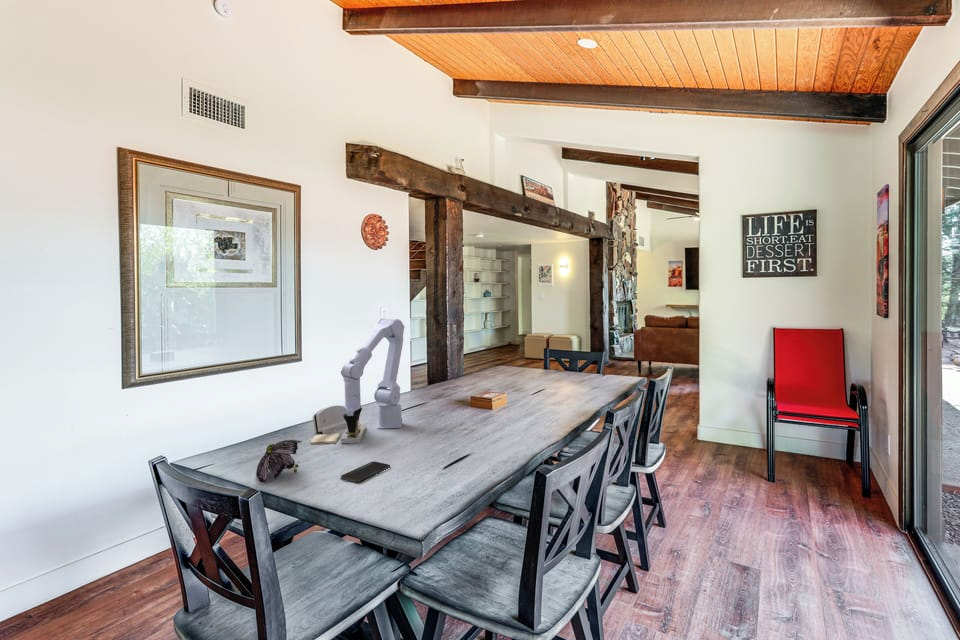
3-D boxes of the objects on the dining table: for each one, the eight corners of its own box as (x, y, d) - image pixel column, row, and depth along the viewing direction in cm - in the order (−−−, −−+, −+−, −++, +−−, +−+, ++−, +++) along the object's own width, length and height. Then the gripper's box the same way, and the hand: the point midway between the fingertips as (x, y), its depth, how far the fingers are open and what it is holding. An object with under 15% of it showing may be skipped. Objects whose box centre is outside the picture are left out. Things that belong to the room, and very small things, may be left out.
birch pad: (339, 435, 191) (339, 433, 191) (335, 443, 182) (335, 441, 182) (315, 436, 190) (315, 434, 190) (310, 444, 181) (310, 442, 181)
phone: (339, 476, 148) (373, 460, 161) (339, 480, 148) (373, 464, 161) (358, 481, 144) (392, 465, 158) (358, 485, 145) (392, 468, 158)
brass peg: (359, 435, 192) (359, 418, 191) (358, 438, 188) (357, 421, 187) (349, 435, 191) (348, 419, 191) (347, 438, 187) (347, 421, 187)
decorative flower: (258, 438, 157) (302, 424, 156) (273, 467, 161) (317, 454, 160) (239, 466, 143) (288, 451, 143) (257, 497, 147) (305, 483, 147)
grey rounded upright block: (323, 434, 192) (316, 409, 194) (315, 437, 195) (308, 412, 196) (354, 424, 207) (348, 401, 208) (347, 426, 209) (340, 403, 210)
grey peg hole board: (365, 429, 200) (365, 423, 200) (360, 443, 182) (360, 437, 182) (348, 429, 199) (348, 424, 199) (340, 443, 181) (340, 438, 181)
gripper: (344, 390, 195) (345, 424, 196) (338, 399, 181) (339, 435, 182) (363, 390, 196) (363, 424, 197) (358, 398, 182) (359, 434, 183)
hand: (353, 429), depth 189 cm, fingers open, 7 cm apart
